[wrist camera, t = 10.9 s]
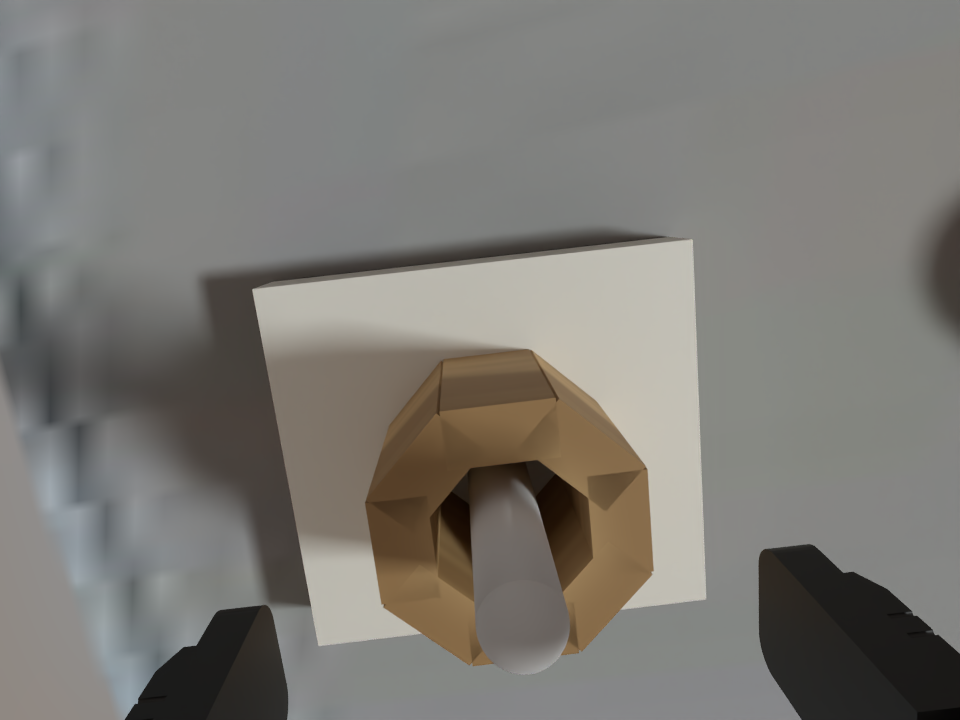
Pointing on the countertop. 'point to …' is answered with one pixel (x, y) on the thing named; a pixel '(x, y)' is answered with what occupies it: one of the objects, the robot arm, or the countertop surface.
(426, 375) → the ring peg stand
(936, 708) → the robot arm
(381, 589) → the bead
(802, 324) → the countertop surface
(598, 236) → the countertop surface
